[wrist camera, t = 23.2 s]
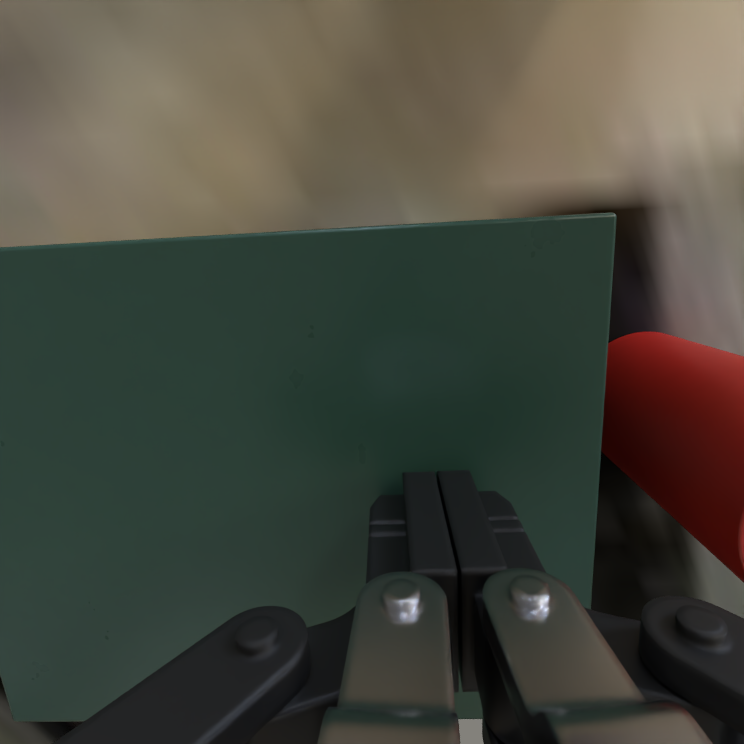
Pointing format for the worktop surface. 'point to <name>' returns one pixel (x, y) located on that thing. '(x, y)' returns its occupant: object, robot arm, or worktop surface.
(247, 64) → the worktop surface
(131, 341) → the lid
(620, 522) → the worktop surface
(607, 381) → the tin
